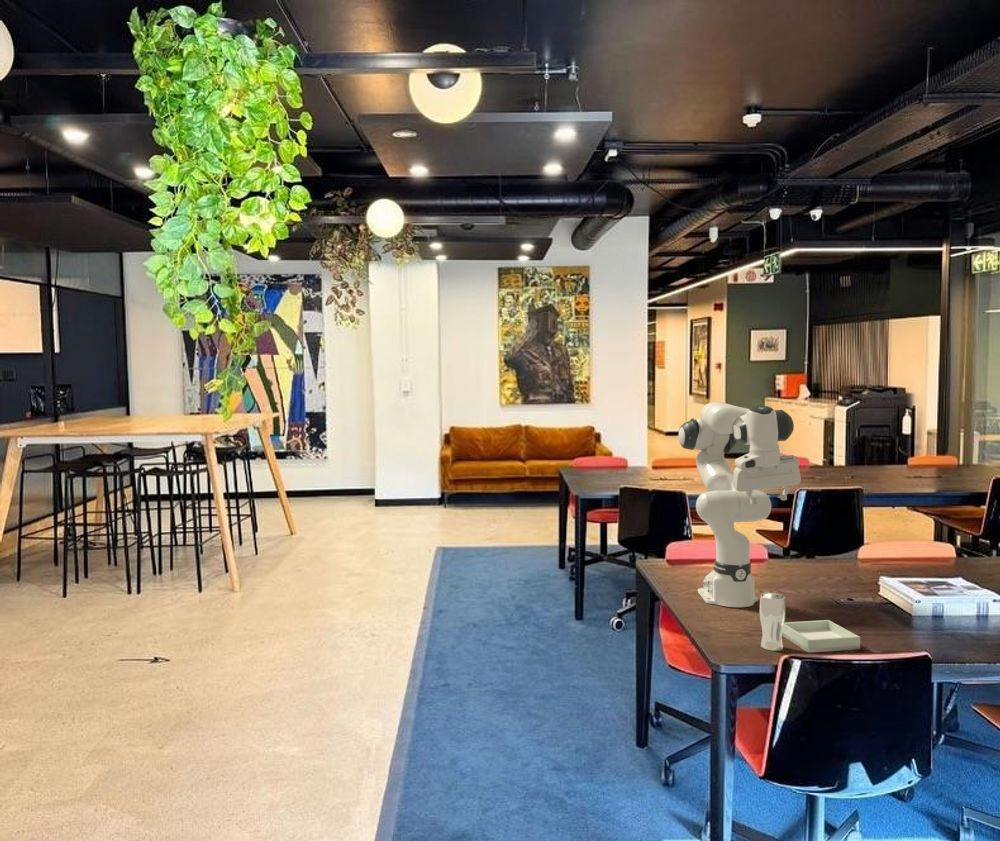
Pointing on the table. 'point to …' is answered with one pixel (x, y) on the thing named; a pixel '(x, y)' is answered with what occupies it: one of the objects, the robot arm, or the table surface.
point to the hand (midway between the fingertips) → (768, 501)
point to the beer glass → (772, 620)
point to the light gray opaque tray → (820, 636)
